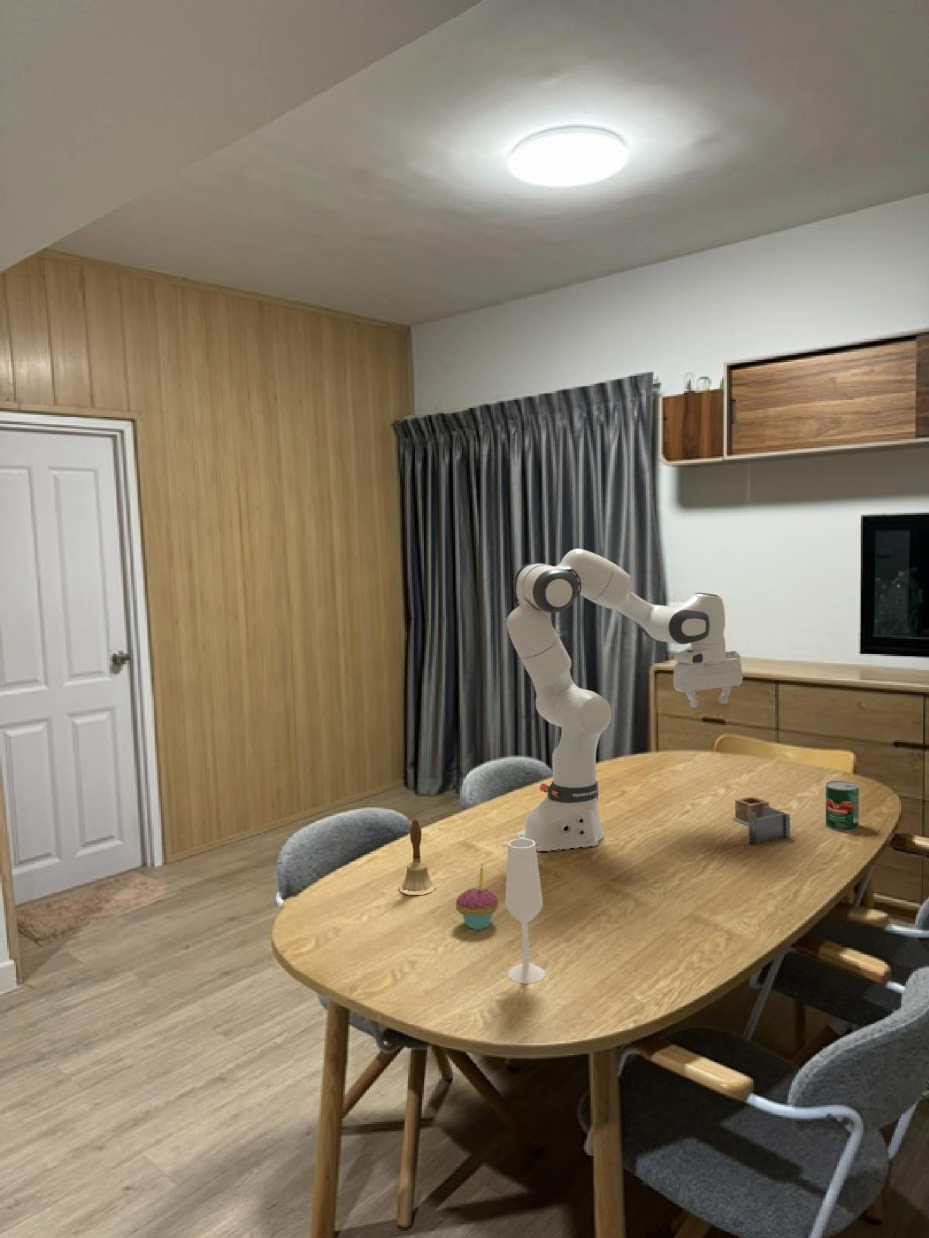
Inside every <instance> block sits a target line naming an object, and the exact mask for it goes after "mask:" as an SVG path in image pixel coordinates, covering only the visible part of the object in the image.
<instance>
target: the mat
mask: <svg viewBox="0 0 929 1238" xmlns="http://www.w3.org/2000/svg"><path fill="white" fill-rule="evenodd" d="M732 821H735V822H737V823H740V824H742V825H744V826H746V827H748V828H749V823H746V822H744V821H742V820H739V819H737V818H735V816H734V817H732Z"/></svg>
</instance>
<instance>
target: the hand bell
mask: <svg viewBox="0 0 929 1238" xmlns="http://www.w3.org/2000/svg"><path fill="white" fill-rule="evenodd" d="M409 837H410V842H411V846H412V862H411V863H409V864H408V865H407V866H406V876H405V879H404V880H403V882H402V883H401V884H402V885H401V884H400V886H402V888H403V890H408V891H414V892H415V891H421V890H427V889H429V888H430V887H431V886H433V882H434V881H433V882H432V879H431V878H430V875H429V871H428V866H427V864H426V862H423V861H421V849H420V847H421V843H422V827H421V825H420V822H419V819H417V818H415V819H414V818H413V819H412V820H411V825H410V829H409Z"/></svg>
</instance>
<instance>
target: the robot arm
mask: <svg viewBox="0 0 929 1238" xmlns="http://www.w3.org/2000/svg"><path fill="white" fill-rule="evenodd" d="M632 588H633V582H632V578H631V575H630V574H629V573H627V572H626V571H625V570H624V569H623V568H622V567H620V566H619V565H617V564H616V563H614V562H612V561H610V560H609V559H607V558H605V557H603V556H601V555H599V554H596V553H594V552H592V551H589V550H586V549H582V548H574V549H572V550H569V551H568V552H567V553H566V554H565V555H564V556H563V557H562V559H561V561H560V562H559V564H557V565H555V566H554V565H550V564H546V563H541V562H531V563H527V564H525V565H523V566H521V567H519V569H518V570H517V572H515V575H514V579H513V589H514V599H513V600H514V603H515V605H516V606H517V607H516V608H514V609H513V610H512V611H511V612H510V614H508V617H507V619H506V627H507V631H508V634H509V637H510V640H511V642H512V644H513V647H514V649H515V651H516V653H517V655H518V657H519V659H520V660H521V662H522V664H523V666H524V668H525V670H526V672H527V674H528V676H529V678H531V681H532V684H533V686H534V689H535V690H534V691H535V694H536V698H535V709H536V711H537V713H538V714H539V716H540V717H542V718H543V719H544V720H545V721H547V722H548V723H549V724H551V725H554V726H557V727H560V728H561V735H560V740H559V743H558V746H556V747H555V748H554V750H553V752H552V755H551V756H552V757H551V758H552V781H551V783H550V785H547V784H546V783H545V782H544V783H541V784H540V785H539V790H540V791H541V792H543V793H545V794H546V793H547V795H546V796H547V797H545V799H543V800H542V801H541V802H540V803H539V804H538V805H537V806H536V807H535V808H533V810H531V811H530V812H529V813H528V815H527V817H526V821H525V830H522V831H518V832H517V836H516V837H517V838H518V839H530V840H533V841H534V842H535V845H536V850H538V851H537V852H539V850H540V851H548V850H554V849H565V850H571V849H570V848H574V849H580V848H579V847H583V848H589V847H590V846H592V847H596V845H597V846H598V845H599V842H600V841H601V840H602V839H603V838H604V836H605V833H604V830H603V826H602V822H601V819H600V813H599V806H598V801H599V785H598V784H599V783H598V781H597V766H596V764H597V760H596V759H597V749H598V743H599V741H600V738H601V735H602V733H603V732H604V731H605V730H606V729H607V728H608V726H609V724H610V722H611V720H612V714H613V713H612V707H611V705H610V703H609V702H608V701H607V699H606V698H604V697H602V696H601V695H600V694H598V693H597V692H595V691H592V690H588V689H585V688H581V687H578V686H577V684H575V682H574V680H573V678H572V674H571V668H572V659H571V657H570V656H569V654H568V653H569V652H567V650H566V648H565V646H564V644H563V642H562V640H561V638H560V637H559V635H558V633H557V631H556V630H555V628H554V626H553V623H552V618H551V614H553V613H554V614H555V613H561V612H564V611H566V610H567V609H568V608H569V607H570V606H572V604H573V603H574V602H575V599H576V598H577V597H578V596H579V595H580V596H582V597H583V598H585V599H587V600H589V601H591V602H592V603H594V604H596V605H598V606H601V607H604V608H606V609H610V610H614V611H616V612H617V613H619V614H621V615H622V616H624V617H626V618H627V619H629V620H631V622H634V623H635V624H636V625H637V626H638V627H639V629H640V630H641V632H642V633H643V634H644V635H645V637H647V638H648V639H649V640H651V641H653V642H661V643H662V642H663V643H669V644H675V645H686V644H687V645H688V644H690V646H689V647H687V648H685V649H683V650H681V651H680V652H679V651H678V652H677V653H675V655H674V661H675V662H676V664H675V665H674V668H673V675H672V676H673V677H672V678H673V679H672V683H673V688H674V689H675V691H677V692H681V693H685V695H686V697H687V698H688V700H689V706H690V708H693V709H694V708H698V707H699V703H700V701H699V700H697V699H696V698H695V695H696V691H703V690H711V689H719V688H721V690H722V693H721V695H719V696H718V703H720V704H721V705H723V704H728V697H729V696H730V694H731V691H732V687H734V686H735V687H736V686H741V685H742V683H743V680H744V679H743V678H744V677H743V676H744V675H743V670H742V669H743V667H742V664H741V655H740V654H739V652H737V651H735V650H731V651H726V639H725V634H724V633H725V628H726V615H725V606H724V602H723V599H722V597H720V596H719V595H717V594H713V593H705V592H695V593H693V594H692V596H690V597H689V599H687V600H686V601H684V602H683V603H681V604H680V605H677V606H670V605H665V604H660V603H659V604H657V603H649V602H648V601H646V600H645V599H643V598H641V597H640V596H638V595H636V594H635V593H634V592H632ZM517 838H516V839H517ZM548 852H549V851H548Z"/></svg>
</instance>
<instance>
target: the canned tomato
mask: <svg viewBox="0 0 929 1238" xmlns="http://www.w3.org/2000/svg"><path fill="white" fill-rule="evenodd" d="M859 804H860V786H859V784H857V783H855V782H852V781H846V780H845V781H844V780H832V781H831V780H830V781H828V782H825V826H826V827H827V828H828V829H830V830H832V831H837V832H855V831H857V830H859V829H860V826H859V825H860V824H859V823H860V819H859V816H860V805H859Z"/></svg>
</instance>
